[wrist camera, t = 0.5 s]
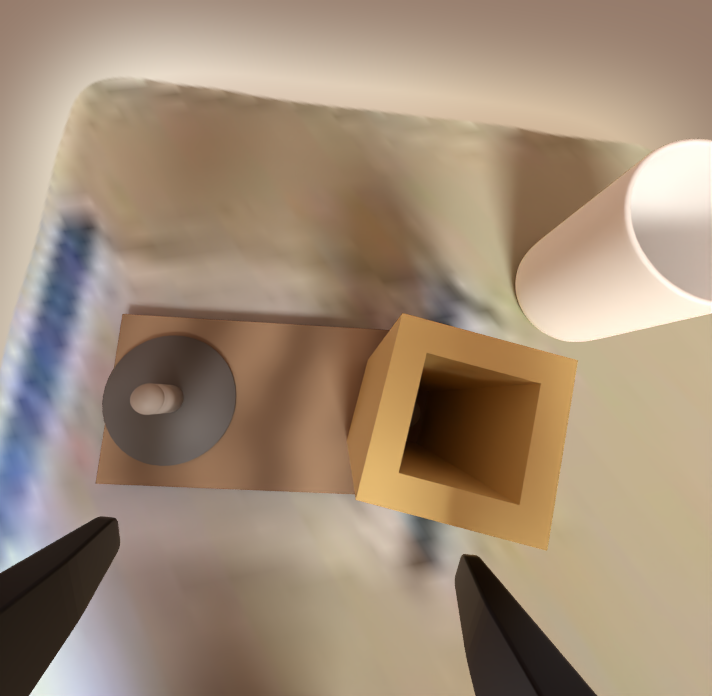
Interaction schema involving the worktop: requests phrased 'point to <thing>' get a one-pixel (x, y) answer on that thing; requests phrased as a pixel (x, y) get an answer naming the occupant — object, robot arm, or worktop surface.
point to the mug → (628, 252)
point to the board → (235, 404)
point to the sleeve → (463, 430)
